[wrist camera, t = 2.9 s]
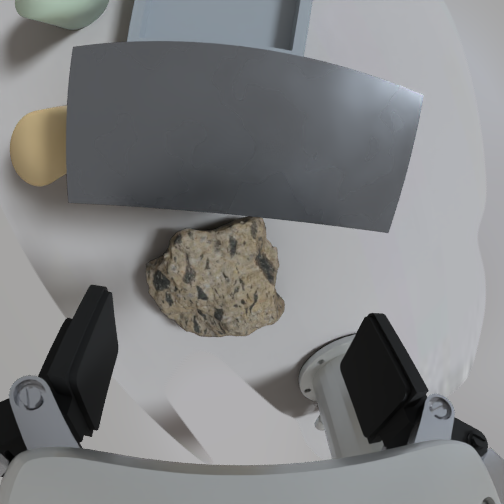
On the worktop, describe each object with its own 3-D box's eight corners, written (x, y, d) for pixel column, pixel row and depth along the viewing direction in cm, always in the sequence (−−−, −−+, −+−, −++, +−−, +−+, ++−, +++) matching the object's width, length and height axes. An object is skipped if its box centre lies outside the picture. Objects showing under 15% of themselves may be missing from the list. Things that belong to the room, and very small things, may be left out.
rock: (132, 229, 24) (117, 256, 20) (265, 199, 24) (273, 222, 20) (171, 323, 29) (166, 355, 26) (283, 303, 29) (291, 334, 25)
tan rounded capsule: (103, 163, 21) (69, 187, 16) (53, 163, 20) (12, 186, 15) (106, 102, 19) (69, 107, 13) (53, 105, 18) (9, 114, 13)
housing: (318, 175, 23) (391, 250, 13) (134, 156, 21) (59, 220, 11) (336, 81, 19) (436, 81, 9) (143, 57, 17) (64, 29, 7)
